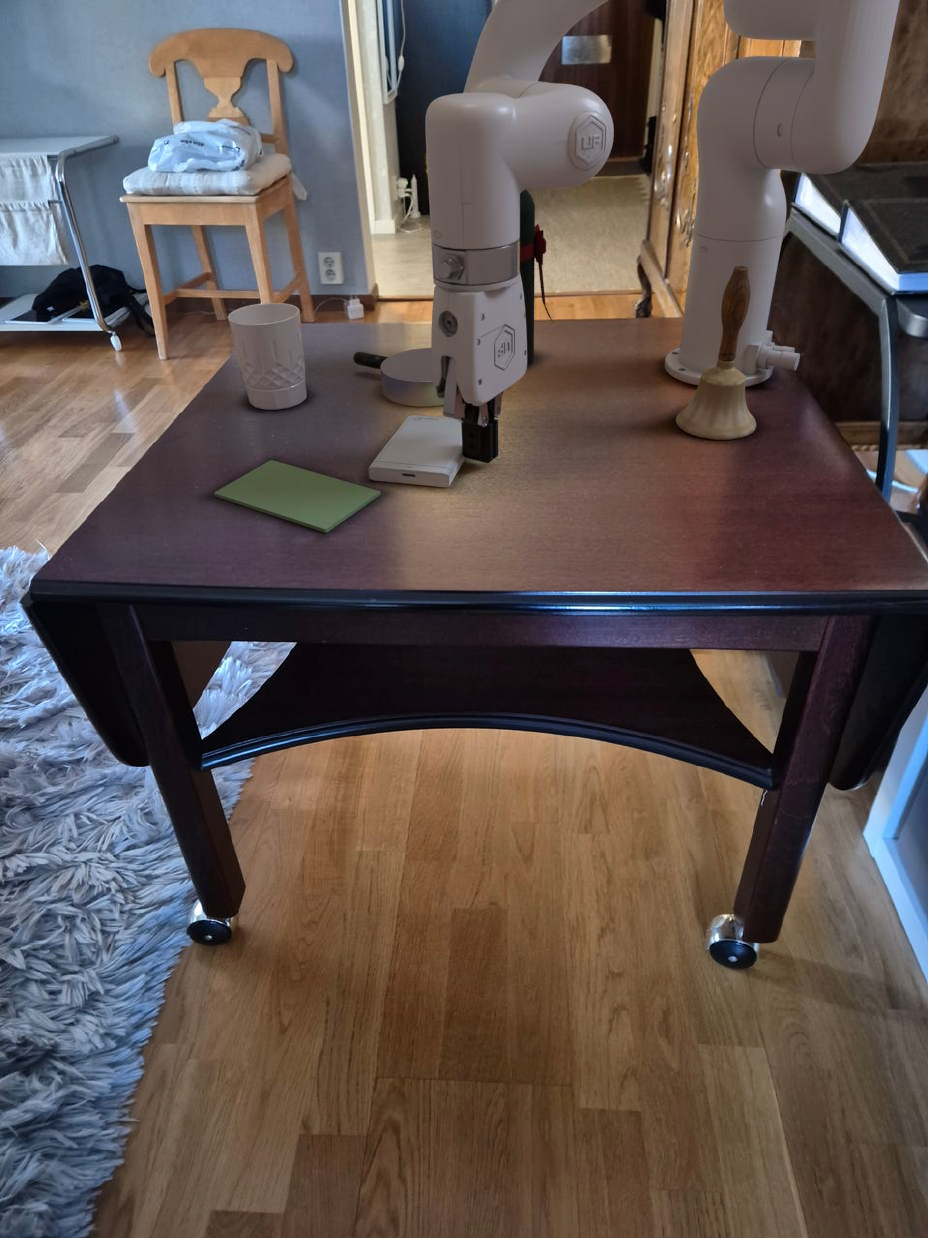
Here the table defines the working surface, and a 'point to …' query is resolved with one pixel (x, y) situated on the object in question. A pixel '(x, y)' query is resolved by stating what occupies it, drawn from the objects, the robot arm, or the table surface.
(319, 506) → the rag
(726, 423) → the hand bell
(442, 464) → the hard drive
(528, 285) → the wine bottle
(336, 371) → the table surface
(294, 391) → the white cup
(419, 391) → the pan
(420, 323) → the table surface
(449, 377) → the robot arm
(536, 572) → the table surface
